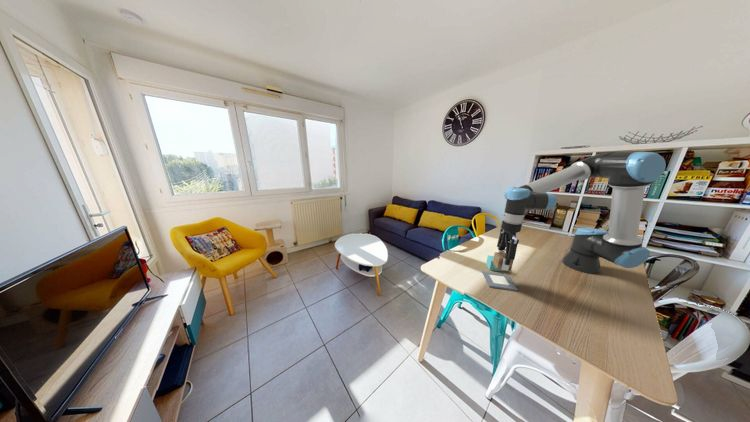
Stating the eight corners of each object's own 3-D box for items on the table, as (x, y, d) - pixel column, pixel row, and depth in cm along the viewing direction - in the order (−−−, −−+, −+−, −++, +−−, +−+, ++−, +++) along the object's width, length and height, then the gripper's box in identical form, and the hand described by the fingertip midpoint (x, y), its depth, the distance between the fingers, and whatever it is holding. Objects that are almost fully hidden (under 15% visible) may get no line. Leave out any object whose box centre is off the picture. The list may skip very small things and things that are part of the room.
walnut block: (505, 264, 96) (508, 253, 94) (510, 270, 91) (513, 259, 89) (492, 262, 97) (494, 252, 96) (497, 269, 92) (499, 258, 90)
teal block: (497, 265, 110) (499, 256, 109) (501, 271, 105) (503, 262, 103) (486, 264, 112) (487, 255, 110) (489, 270, 106) (491, 260, 104)
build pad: (506, 276, 101) (507, 274, 100) (517, 291, 90) (518, 289, 89) (482, 272, 103) (482, 271, 103) (489, 287, 92) (490, 285, 92)
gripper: (495, 215, 97) (487, 255, 104) (512, 228, 79) (501, 276, 86) (511, 216, 95) (502, 257, 102) (533, 230, 78) (519, 278, 84)
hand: (501, 265), depth 94 cm, fingers closed on walnut block, 6 cm apart
